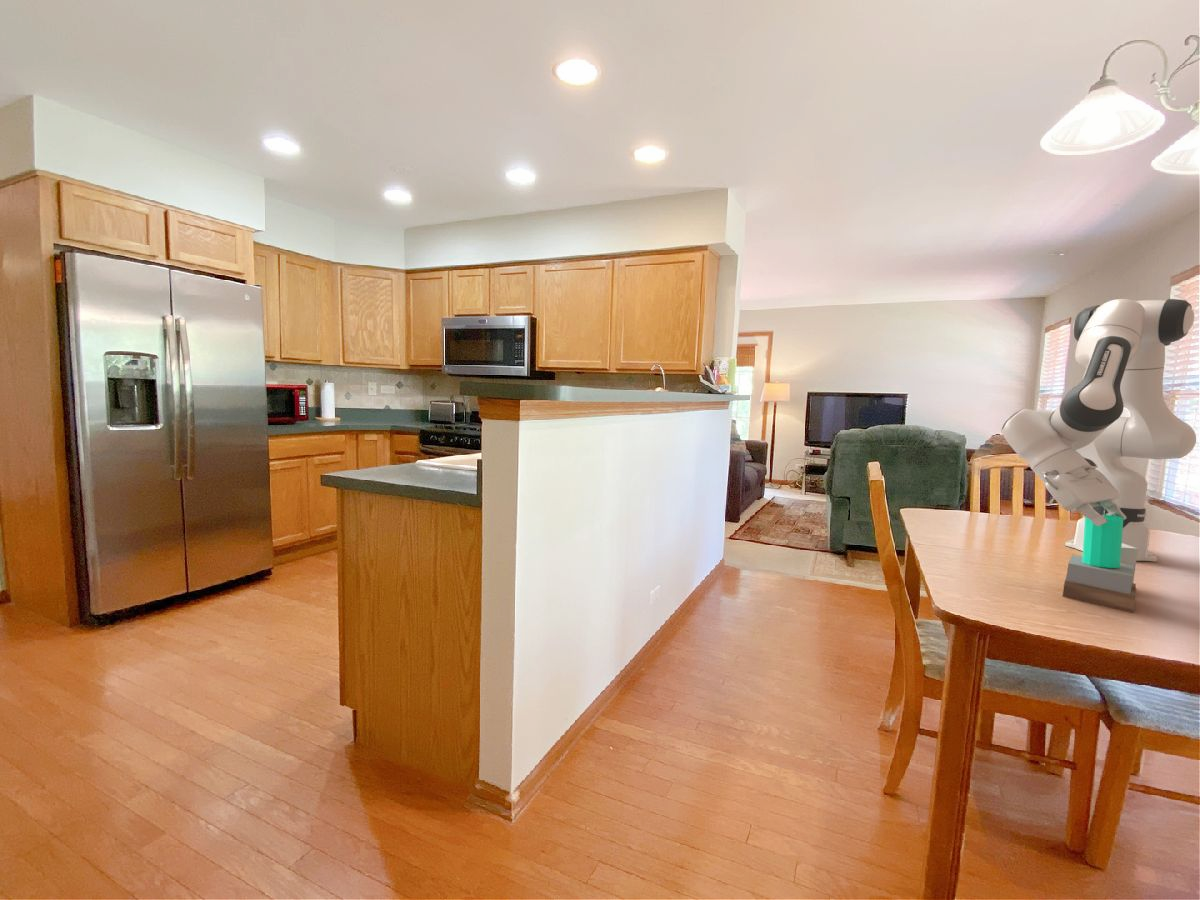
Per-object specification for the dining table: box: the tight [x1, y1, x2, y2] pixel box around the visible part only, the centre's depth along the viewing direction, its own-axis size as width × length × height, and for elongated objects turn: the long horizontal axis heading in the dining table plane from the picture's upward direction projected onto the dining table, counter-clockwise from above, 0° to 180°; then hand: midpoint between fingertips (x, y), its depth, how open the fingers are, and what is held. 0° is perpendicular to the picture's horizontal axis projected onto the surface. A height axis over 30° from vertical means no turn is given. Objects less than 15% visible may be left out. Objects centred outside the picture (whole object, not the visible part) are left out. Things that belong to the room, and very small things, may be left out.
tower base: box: [1062, 578, 1137, 614], centre depth 115 cm, size 11×11×4 cm
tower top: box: [1065, 554, 1133, 595], centre depth 115 cm, size 10×10×4 cm
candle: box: [1082, 510, 1123, 568], centre depth 114 cm, size 6×6×12 cm
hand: (1112, 522), depth 113 cm, fingers open, 8 cm apart
